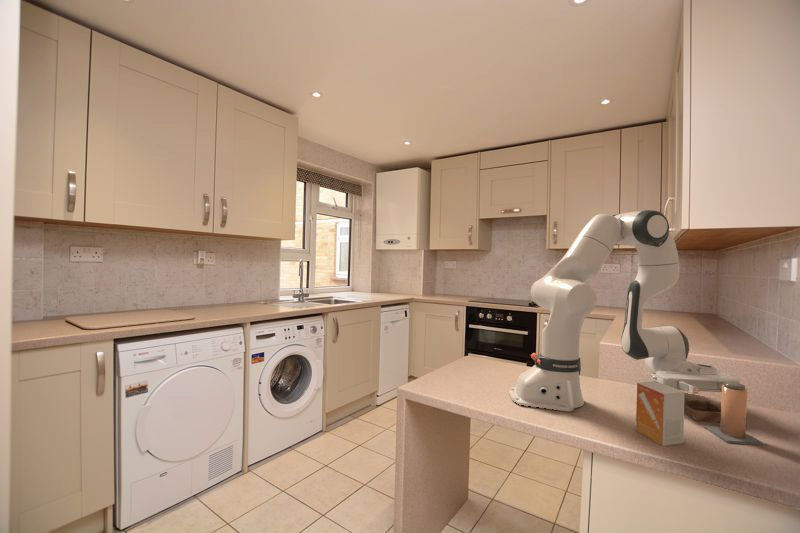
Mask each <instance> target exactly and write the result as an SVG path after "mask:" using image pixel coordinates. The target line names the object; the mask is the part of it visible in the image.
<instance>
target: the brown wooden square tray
mask: <svg viewBox="0 0 800 533" xmlns="http://www.w3.org/2000/svg"><path fill="white" fill-rule="evenodd" d="M684 415H686V416H688V417H690V419H692V420H694V421H695V422H713V423H715V422H717V423H721V406H718V405H717V404H714V403H713V402H711V401H710V400H698V399H697V400H695V399H684Z"/></svg>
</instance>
